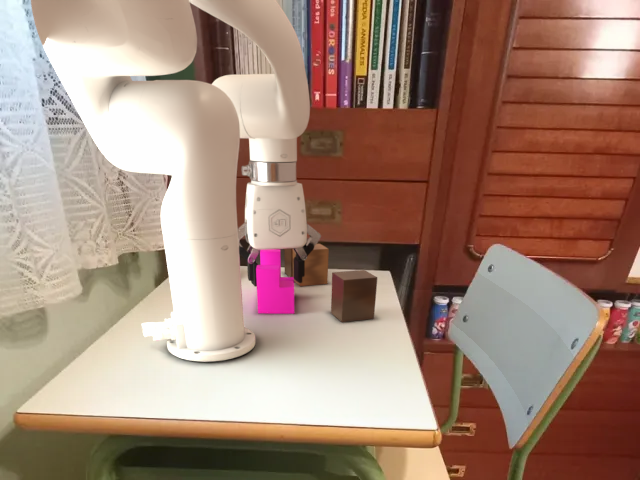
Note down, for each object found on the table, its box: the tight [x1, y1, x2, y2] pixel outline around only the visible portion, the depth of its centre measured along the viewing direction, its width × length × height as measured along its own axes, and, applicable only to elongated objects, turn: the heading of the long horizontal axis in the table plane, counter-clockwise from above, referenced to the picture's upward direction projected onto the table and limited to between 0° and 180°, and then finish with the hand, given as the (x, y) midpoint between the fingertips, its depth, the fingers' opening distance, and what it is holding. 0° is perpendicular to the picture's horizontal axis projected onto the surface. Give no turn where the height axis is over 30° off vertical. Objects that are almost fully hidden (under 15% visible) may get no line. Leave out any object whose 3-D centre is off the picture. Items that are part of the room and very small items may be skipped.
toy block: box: [256, 249, 295, 315], centre depth 87 cm, size 15×6×8 cm, turn 3°
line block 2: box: [330, 269, 378, 323], centre depth 81 cm, size 6×5×7 cm
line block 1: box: [283, 237, 319, 277], centre depth 103 cm, size 6×5×7 cm
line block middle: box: [293, 243, 329, 287], centre depth 98 cm, size 6×5×7 cm
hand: (276, 282), depth 88 cm, fingers closed on toy block, 7 cm apart
